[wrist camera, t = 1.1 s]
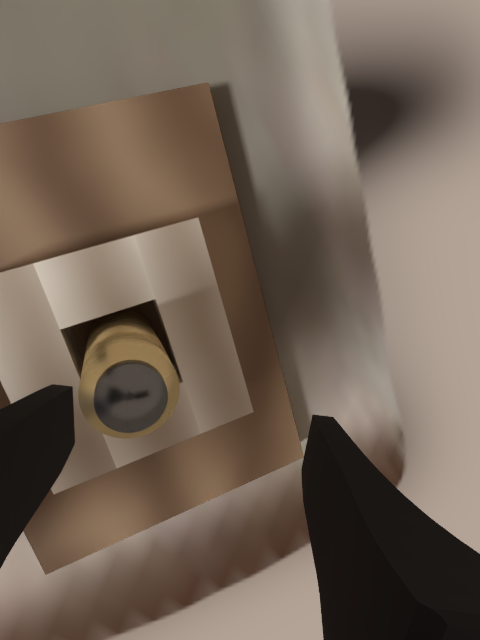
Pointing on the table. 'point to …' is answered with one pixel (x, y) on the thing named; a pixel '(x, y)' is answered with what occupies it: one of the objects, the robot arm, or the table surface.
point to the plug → (126, 377)
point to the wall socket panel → (137, 309)
